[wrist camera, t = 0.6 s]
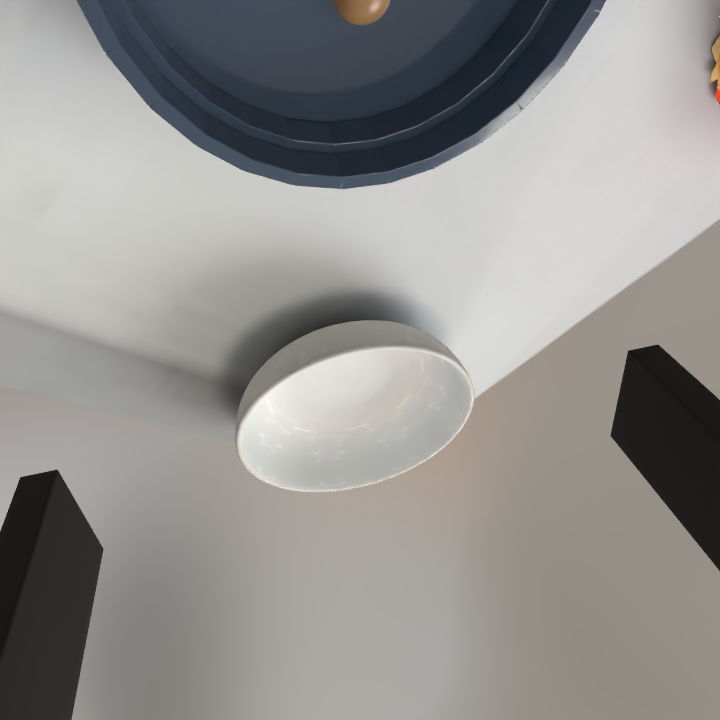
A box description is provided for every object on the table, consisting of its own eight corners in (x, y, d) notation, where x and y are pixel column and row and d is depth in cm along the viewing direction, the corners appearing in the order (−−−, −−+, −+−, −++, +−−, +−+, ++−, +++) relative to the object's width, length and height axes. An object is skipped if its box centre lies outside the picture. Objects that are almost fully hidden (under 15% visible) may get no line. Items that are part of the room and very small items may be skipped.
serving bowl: (487, 296, 52) (519, 355, 47) (399, 433, 66) (417, 487, 62) (253, 273, 43) (267, 342, 39) (210, 435, 57) (216, 499, 53)
